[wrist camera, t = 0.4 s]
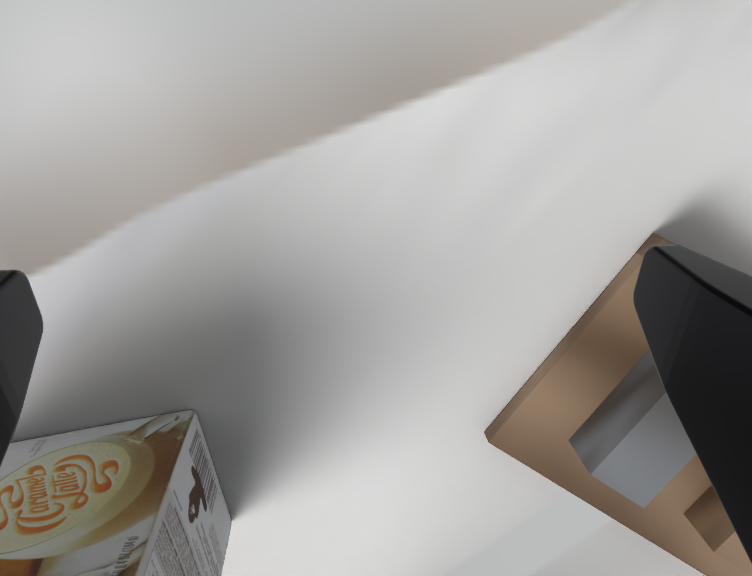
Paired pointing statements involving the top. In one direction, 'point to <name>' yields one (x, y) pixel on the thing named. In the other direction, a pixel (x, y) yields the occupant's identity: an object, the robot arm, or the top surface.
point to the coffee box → (114, 502)
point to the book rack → (620, 434)
